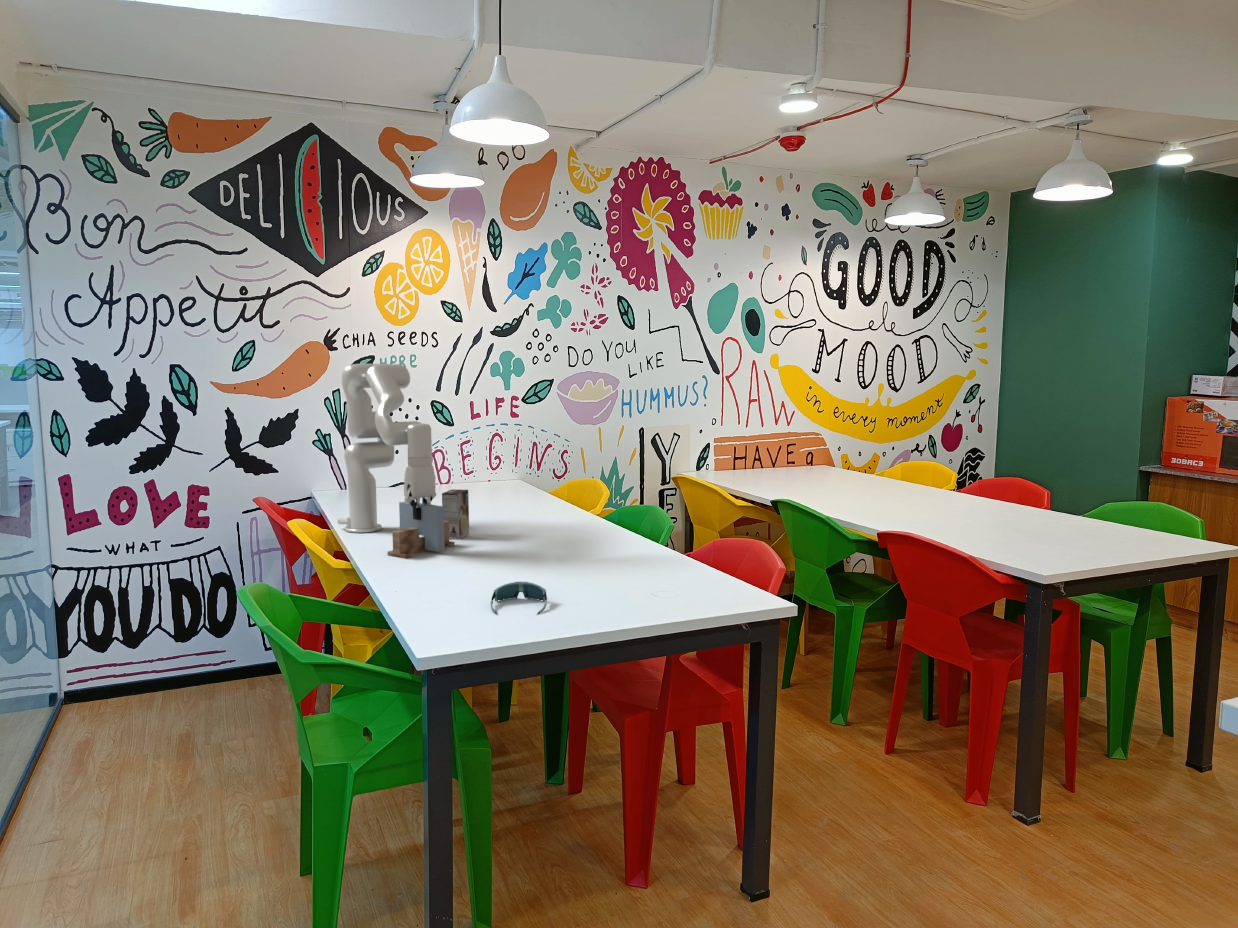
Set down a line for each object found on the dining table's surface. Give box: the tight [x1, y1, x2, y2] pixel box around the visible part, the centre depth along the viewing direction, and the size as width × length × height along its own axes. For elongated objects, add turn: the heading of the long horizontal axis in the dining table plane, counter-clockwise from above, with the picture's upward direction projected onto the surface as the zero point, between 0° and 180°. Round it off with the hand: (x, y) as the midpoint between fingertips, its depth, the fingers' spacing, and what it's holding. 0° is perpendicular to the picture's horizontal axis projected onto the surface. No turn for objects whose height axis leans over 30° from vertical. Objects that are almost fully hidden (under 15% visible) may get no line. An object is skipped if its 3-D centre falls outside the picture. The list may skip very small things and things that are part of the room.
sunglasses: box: [489, 581, 548, 615], centre depth 217 cm, size 14×15×5 cm
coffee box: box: [441, 488, 470, 540], centre depth 297 cm, size 9×6×16 cm
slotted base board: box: [387, 521, 456, 560], centre depth 277 cm, size 22×8×8 cm, turn 147°
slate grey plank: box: [398, 500, 446, 552], centre depth 276 cm, size 17×3×14 cm, turn 57°
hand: (421, 518), depth 276 cm, fingers closed on slate grey plank, 2 cm apart
